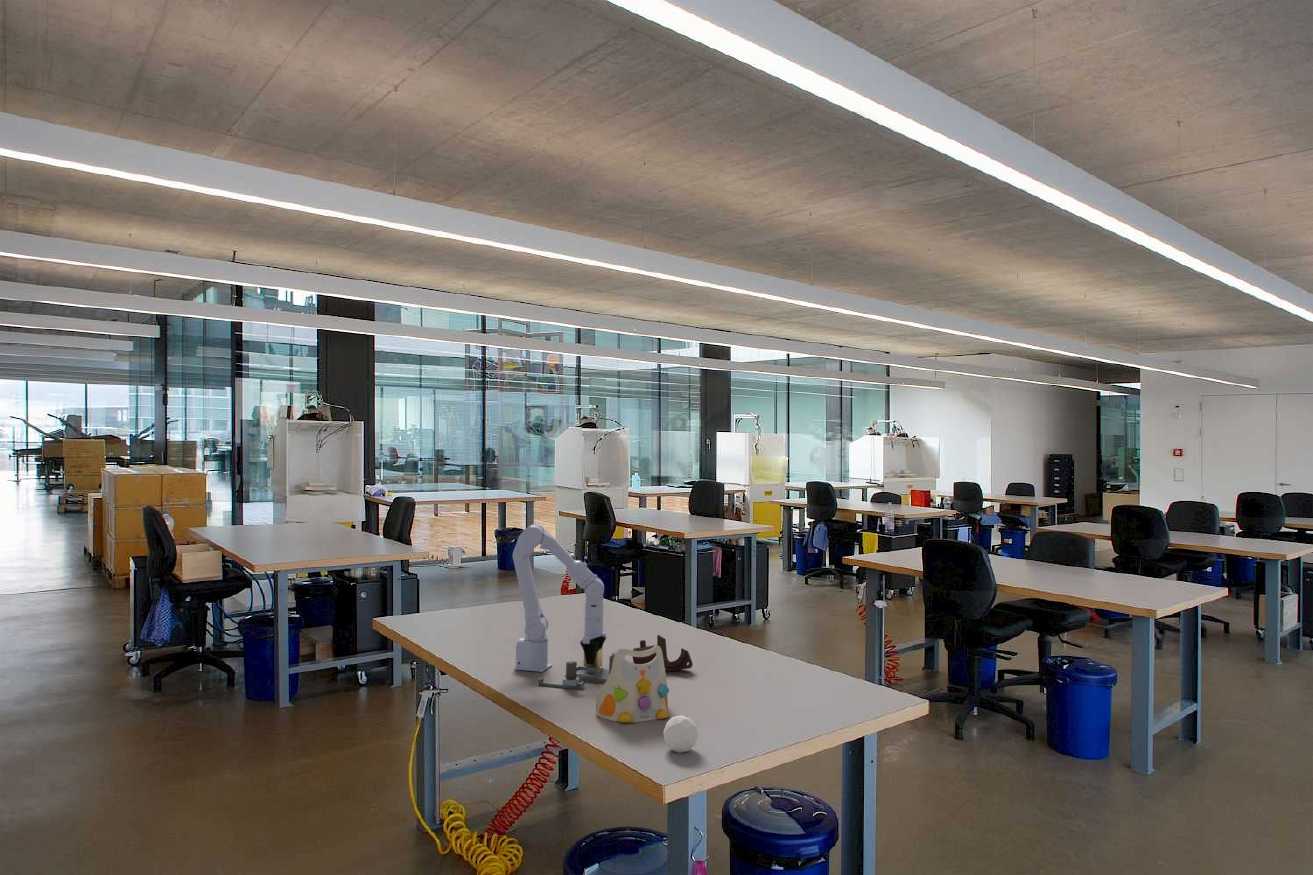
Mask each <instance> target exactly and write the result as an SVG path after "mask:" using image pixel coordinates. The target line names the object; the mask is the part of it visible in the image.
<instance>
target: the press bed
mask: <svg viewBox="0 0 1313 875" xmlns="http://www.w3.org/2000/svg"><path fill="white" fill-rule="evenodd" d="M616 652H617V651H615V652H614V651H613V652H611V654H610V655H609V664H608V666H609V669H604V668H603V667H600V668H598V667H587V666H584V665H577V677H578V678H580V682H582V681H583V682H584V683H585V682H586V683H594V684H595V683H596V684H605V683H606V681H607V679H608V678H609V675H610V672H611V669H612V663H613V659H614V656H615V654H616ZM565 677H566V674H565V675H564V678H565Z"/></svg>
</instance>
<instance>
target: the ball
mask: <svg viewBox="0 0 1313 875" xmlns="http://www.w3.org/2000/svg"><path fill="white" fill-rule="evenodd" d="M662 733H663V738H664V743H666V746H667V747H668V748H669V750H672V751H674V752H676V753H678V754H680V753H685V752H688V751H690V750H692V748H693V747H694V746H695V745H696V743H697V740H698V737H699V733H698V727H697V725H696V724H695V722H694V721H693V720H692V718H691V717H688V716H685V715H682V714H681V715H676V716H672V717H671V718H670V719H669V720H668V721H667V722H666V723H665V726H664V729H663V732H662Z"/></svg>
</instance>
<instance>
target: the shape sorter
mask: <svg viewBox="0 0 1313 875" xmlns="http://www.w3.org/2000/svg"><path fill="white" fill-rule="evenodd" d="M653 646H654V645H653ZM615 652H616V654H615V656H614V659H613V663H612V669H611V672H610V675H609V678H608V679H607V681H606V683H603V685H602V686H601V687H600V689H599V690H598V692H597V696H596V699H595V700H596V701H595V715H596V716H598V717H599V718H601V719H605V720H607V721H608V720H609V721H612V722H619V723H638V722H639V723H640V722H645V721H654V720H661V719H666V718H668V717H669V713H668V712H669V706H668V704H669V700H668V694H669V693H670V689H669V687H668V680H667V674H666V673H667V672H666V669H665V667H664V660H663V654H662V650H661V647H660V646H654V647H653V648H651V649H649V650H646V651H633V649H632V650H631V649H628V648H624V647H623V648H619V649H618V650H616V651H615ZM654 653H656V657H655V658H654V659H653V660H652V661H651V662H649V663H646V664H634V662H631V661H629V660H628V659H626V656H630V657H633V656H634V657H646V656H649V655H652V654H654Z"/></svg>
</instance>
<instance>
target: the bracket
mask: <svg viewBox="0 0 1313 875" xmlns="http://www.w3.org/2000/svg"><path fill="white" fill-rule="evenodd" d="M656 636H657V637H656V638H657V643H656V645H655V644H654V645H647V643H646V640H645V639H642V640H640V641H639V647H634V648H633V649H632V651H646V650H649V649H651V648H653V647H654V646H660V647H661V650H662V654H663V660H664V667H665V670H667V671H670V672H673V671H679V670H689V669H691V668H692V667H693V660H692V658H691V654H690V653H689V651H688V650H687V649H684V648H680V655H679V657H678V658H676V660H673V661H670V660H669V658H668V653H667V640H666V638H665V637H663V636H661V635H660V634H657V635H656ZM655 657H656V653H654V654H652V655H649V656H646V657H634V656H632V661H633V662H632V663H634V664H646V663H649V662H651V661H652V660H653V659H654V658H655Z"/></svg>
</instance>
